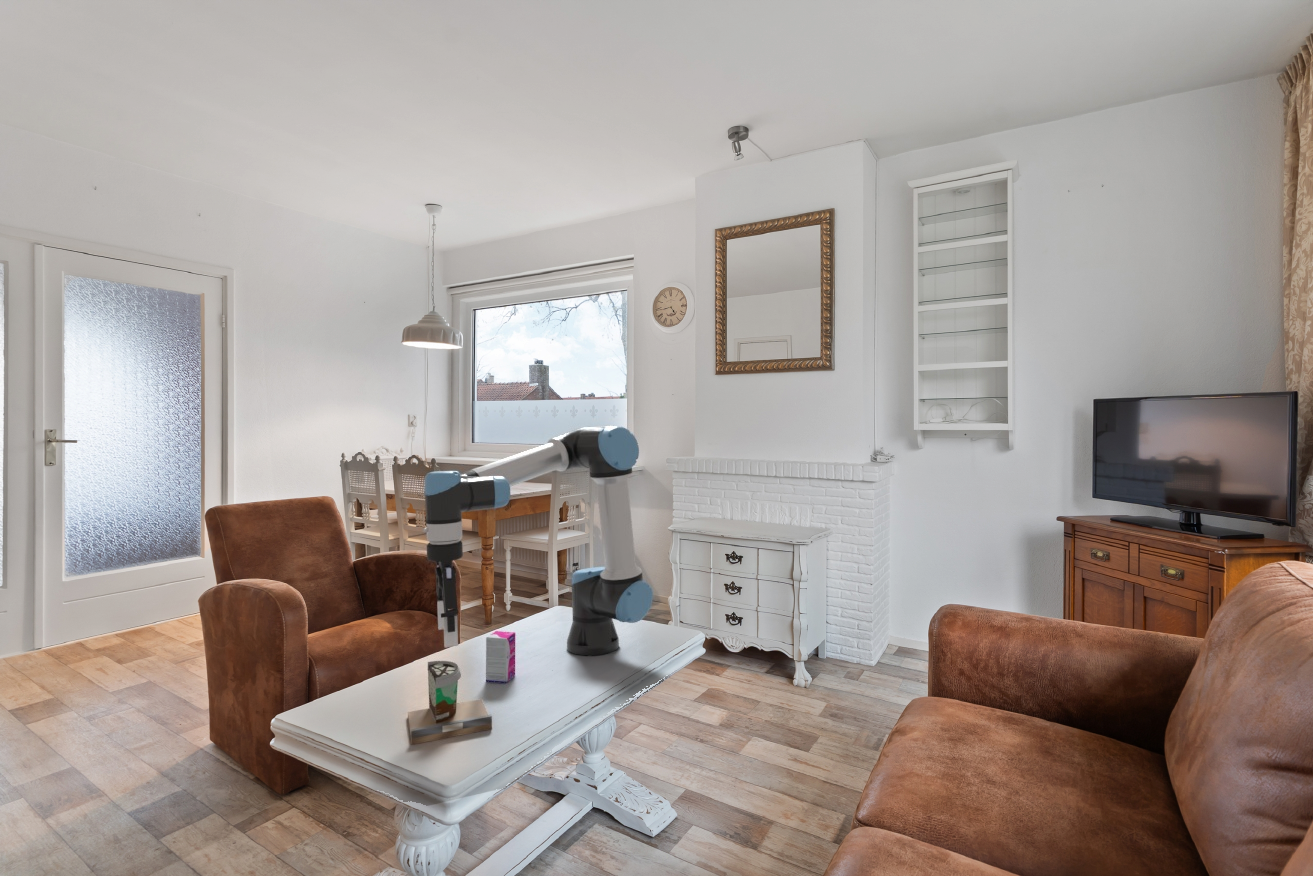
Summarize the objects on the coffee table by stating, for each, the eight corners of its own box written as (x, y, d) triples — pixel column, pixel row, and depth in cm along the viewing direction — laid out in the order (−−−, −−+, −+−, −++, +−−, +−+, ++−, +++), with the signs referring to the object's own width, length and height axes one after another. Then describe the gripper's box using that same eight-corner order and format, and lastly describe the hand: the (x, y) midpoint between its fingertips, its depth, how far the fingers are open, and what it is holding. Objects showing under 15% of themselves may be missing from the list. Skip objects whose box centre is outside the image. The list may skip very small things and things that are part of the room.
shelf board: (481, 704, 150) (481, 692, 150) (492, 729, 137) (491, 716, 137) (407, 717, 143) (407, 705, 143) (411, 745, 130) (411, 731, 130)
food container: (466, 719, 139) (466, 673, 139) (436, 726, 136) (436, 678, 136) (456, 699, 150) (455, 656, 150) (428, 705, 147) (427, 661, 147)
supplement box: (507, 684, 162) (506, 638, 162) (485, 682, 163) (484, 637, 163) (516, 675, 168) (515, 631, 168) (495, 674, 169) (494, 630, 169)
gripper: (422, 534, 152) (425, 624, 153) (431, 552, 129) (434, 657, 130) (455, 532, 155) (458, 619, 156) (470, 548, 132) (473, 651, 133)
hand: (447, 637), depth 143 cm, fingers open, 13 cm apart
